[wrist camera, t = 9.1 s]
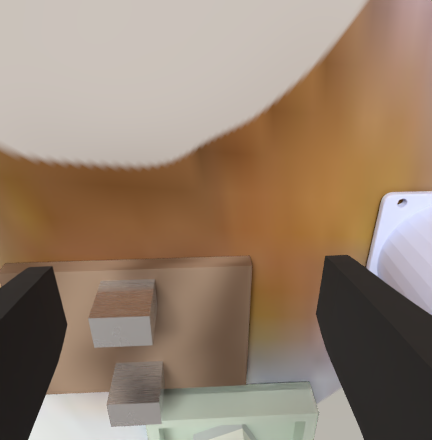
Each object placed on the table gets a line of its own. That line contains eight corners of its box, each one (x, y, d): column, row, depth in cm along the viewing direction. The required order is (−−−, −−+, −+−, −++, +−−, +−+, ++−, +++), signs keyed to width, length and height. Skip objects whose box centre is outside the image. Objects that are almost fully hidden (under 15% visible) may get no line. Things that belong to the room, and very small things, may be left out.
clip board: (249, 255, 23) (260, 301, 19) (244, 373, 27) (251, 426, 24) (4, 263, 22) (-31, 311, 18) (43, 382, 27) (20, 438, 23)
